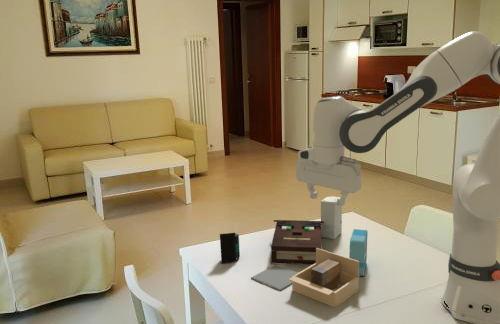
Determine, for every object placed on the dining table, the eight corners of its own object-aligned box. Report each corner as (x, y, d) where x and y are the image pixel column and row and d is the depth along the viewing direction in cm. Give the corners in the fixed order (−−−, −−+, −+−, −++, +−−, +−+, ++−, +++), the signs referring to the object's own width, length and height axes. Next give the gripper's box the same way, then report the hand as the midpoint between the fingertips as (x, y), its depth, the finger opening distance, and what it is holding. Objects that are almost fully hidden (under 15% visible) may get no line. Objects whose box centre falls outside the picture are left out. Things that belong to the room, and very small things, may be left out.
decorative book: (266, 246, 154) (274, 215, 183) (267, 267, 156) (274, 233, 185) (325, 248, 151) (323, 216, 180) (324, 269, 153) (323, 235, 182)
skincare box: (334, 240, 176) (335, 202, 173) (319, 237, 179) (320, 200, 176) (342, 232, 183) (342, 196, 180) (327, 230, 186) (328, 194, 183)
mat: (304, 276, 148) (304, 275, 147) (280, 290, 139) (280, 289, 139) (275, 265, 156) (275, 264, 156) (251, 278, 147) (251, 277, 147)
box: (339, 287, 141) (339, 262, 139) (322, 298, 134) (322, 273, 132) (327, 282, 143) (328, 258, 142) (310, 293, 137) (311, 269, 135)
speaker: (237, 264, 157) (235, 234, 156) (221, 264, 158) (219, 234, 157) (241, 256, 165) (240, 228, 163) (226, 256, 166) (224, 228, 164)
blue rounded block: (363, 277, 146) (364, 242, 143) (348, 276, 147) (349, 241, 145) (366, 261, 157) (367, 228, 154) (352, 260, 158) (353, 227, 156)
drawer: (358, 290, 138) (359, 261, 136) (330, 311, 127) (330, 279, 125) (316, 275, 148) (316, 247, 146) (287, 293, 138) (286, 263, 136)
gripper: (367, 158, 125) (364, 206, 128) (306, 148, 139) (305, 192, 142) (354, 162, 120) (352, 212, 124) (293, 151, 134) (292, 196, 138)
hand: (326, 201), depth 133 cm, fingers open, 8 cm apart
